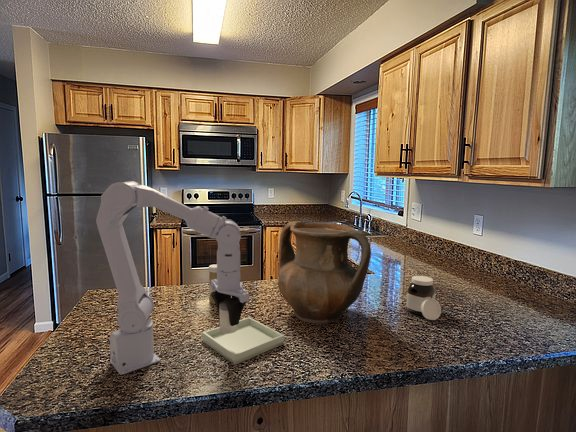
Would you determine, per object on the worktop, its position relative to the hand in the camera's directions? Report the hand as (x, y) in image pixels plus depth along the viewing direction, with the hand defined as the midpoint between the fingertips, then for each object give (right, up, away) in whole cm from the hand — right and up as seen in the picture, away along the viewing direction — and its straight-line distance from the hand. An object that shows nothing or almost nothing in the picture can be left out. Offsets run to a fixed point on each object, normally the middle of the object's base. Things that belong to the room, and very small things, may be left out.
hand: (229, 321), depth 90 cm
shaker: (0, -2, 0) cm, 2 cm away
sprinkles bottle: (-11, -4, +37) cm, 39 cm away
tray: (+3, -8, +8) cm, 11 cm away
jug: (+25, -6, +28) cm, 39 cm away
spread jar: (+61, -6, +30) cm, 68 cm away
